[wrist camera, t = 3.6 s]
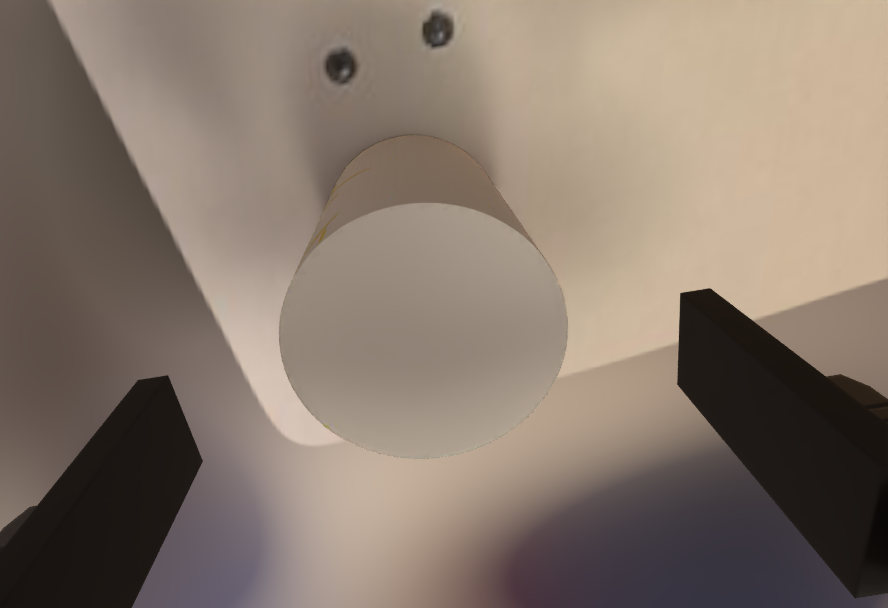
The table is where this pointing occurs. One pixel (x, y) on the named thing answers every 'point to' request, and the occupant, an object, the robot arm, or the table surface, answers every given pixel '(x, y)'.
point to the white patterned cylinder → (421, 307)
